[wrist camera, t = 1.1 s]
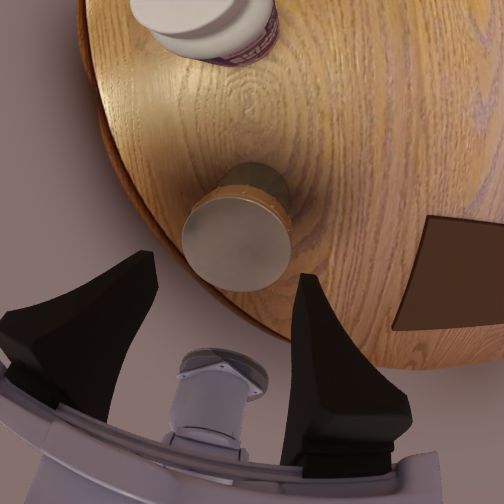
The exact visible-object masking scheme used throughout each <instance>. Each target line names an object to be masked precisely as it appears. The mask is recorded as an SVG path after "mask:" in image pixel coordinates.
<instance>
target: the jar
mask: <svg viewBox="0 0 504 504" xmlns="http://www.w3.org/2000/svg"><path fill="white" fill-rule="evenodd" d="M247 184H248V185H249V186H251V187H255V188H257V189H260V190H262V191H264V192H266V193H268V194H269V195H271V196H272V197H275V198H276V200H277V201H278V202H279V203H280V204H281V206H282V207H283V208H284V210H285V211H286V213H287V215H288V212H289V190H288V187H287V184H286V182H285V181H284V179H283V178H282V176H281V175H280V174H279V173H278V172H277V171H275V170H274V169H272V168H271V167H269V166H266V165H264V164H260V163H244V164H240V165H238V166H235V167H234V168H232V169H231V170H229V171H228V172H227V173H226V174H225V175H224V177H223V178H222V179H221V181H220V182H219V184H218V185H217V186H216V188H215V189H217V188H218V187H219V186H220V187H223V186H228V185H247ZM215 189H214V190H215Z"/></svg>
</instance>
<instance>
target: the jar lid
mask: <svg viewBox="0 0 504 504" xmlns="http://www.w3.org/2000/svg"><path fill="white" fill-rule="evenodd" d="M191 211H192V212H191V214H190V215H189V217H188V218H187V220H186V222H185V224H184V227H183V231H182V247H183V252H184V254H185V257H186V259H187V261H188V263H189V264H190V266H191V267H192V268H193V270H194V271H195V272H196V273H197V274H198V275H199V276H200V277H201V278H203V279H204V280H205V281H207V282H209V283H210V284H212V285H214V286H216V287H219V288H221V289H225V290H228V291H234V292H250V291H256V290H260V289H262V288H265V287H267V286H269V285H271V284H272V283H274V282H275V281H277V280H278V279H279V278H280V277H281V276H282V274H283V273H284V272H285V270H286V268H287V266H288V264H289V261H290V257H291V256H292V244H291V243H292V228H291V219H289V217H288V215H287V213H286V211H285V210H284V208H283V207H282V206H281V204H280V203H279V202H278V201H277V200H276V198H275V197H272V196H271V195H269V194H268V193H266V192H264V191H262V190H260V189H257V188H255V187H251V186H249V185H248V184H247V185H228V186H223V187H220V186H219V187H218V188H217V189H215V190H213V191H211V192H210V193H208V194H207V195H206V196H204V197H203V198H202V199H201V201H198V202H197V203H196V204H195V206H194V207H193V208H192V210H191Z"/></svg>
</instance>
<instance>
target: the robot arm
mask: <svg viewBox="0 0 504 504" xmlns="http://www.w3.org/2000/svg"><path fill="white" fill-rule="evenodd" d="M158 288H159V287H158V281H157V275H156V269H155V262H154V255H153V252H150V251H144V250H140V251H138V252H136V253H135V254H133V255H132V256H130V257H128V258H127V259H125V260H123V261H122V262H120V263H119V264H117V265H116V266H114V267H113V268H111V269H110V270H108V271H106V272H105V273H103V274H101V275H99V276H98V277H96V278H94V279H93V280H91V281H89V282H88V283H86V284H84V285H82V286H80V287H78V288H76V289H74V290H73V291H70V292H68V293H66V294H63V295H61V296H58V297H56V298H54V299H51V300H49V301H46V302H43V303H40V304H37V305H33V306H30V307H26V308H22V309H17V310H13V311H7V312H6V314H5V315H4V316H3V317H2V319H1V320H0V348H1V349H2V350H3V352H4V353H5V354H6V356H7V357H8V359H9V360H10V361H11V362H12V363H11V364H10V366H9V367H8V369H7V368H6V367H5V365H4V364H3V363H2V362H1V361H0V423H1V424H2V425H4V426H5V427H6V428H7V429H9V430H10V431H11V432H13V433H14V434H15V435H16V436H18V437H19V438H20V439H22V440H23V441H24V442H26V443H27V444H29V445H30V446H32V447H33V448H34V449H36V450H37V451H39V452H41V453H42V454H43V457H42V459H41V462H40V464H39V466H38V469H37V471H36V474H35V476H34V479H33V481H32V484H31V486H30V489H29V492H28V494H27V497H26V500H25V502H24V504H442V487H441V476H440V466H439V458H438V452H436V451H434V452H428V453H422V454H416V455H411V456H408V457H406V458H403V459H402V460H400V461H399V462H398V463H394V464H391V452H393V451H394V440H396V439H397V438H398V437H400V436H401V435H402V434H403V433H404V432H406V431H407V430H408V429H409V428H410V426H411V425H412V422H413V421H412V414H411V409H410V405H409V401H408V398H407V395H405V394H404V393H403V392H402V391H401V390H399V389H398V388H397V387H396V386H394V385H393V384H392V383H391V382H389V381H388V380H387V379H386V378H385V377H384V376H383V375H382V374H381V373H380V372H379V371H378V370H377V369H376V368H375V367H374V366H373V365H372V364H371V363H370V362H369V361H368V360H367V358H366V357H365V356H364V355H363V354H362V353H361V352H360V350H359V349H358V348H357V347H356V345H355V344H354V343H353V341H352V340H351V339H350V337H349V336H348V334H347V333H346V331H345V330H344V328H343V327H342V325H341V323H340V322H339V320H338V318H337V317H336V315H335V313H334V311H333V310H332V308H331V306H330V304H329V302H328V300H327V298H326V296H325V294H324V292H323V290H322V287H321V285H320V283H319V280H318V278H317V276H316V275H313V274H305V273H301V275H300V279H299V284H298V288H297V293H296V297H295V302H294V306H293V313H292V324H291V359H292V360H291V362H292V377H291V378H292V379H291V391H290V400H289V408H288V416H287V423H286V430H285V437H284V443H283V449H282V455H281V461H280V465H271V464H262V463H254V462H248V460H249V454H248V452H247V451H246V449H245V448H240V444H241V441H239V439H240V434H241V429H242V423H243V418H244V413H245V407H246V402H247V396H251V395H256V394H260V393H262V389H261V388H260V387H258V386H257V385H256V384H255V383H253V382H252V381H251V380H250V379H248V378H247V377H246V376H245V375H243V374H242V373H241V372H240V371H239V370H237V369H236V368H235V367H234V366H233V365H231V364H230V363H229V362H227V361H222V362H219V363H215V364H212V365H208V366H204V367H201V368H197V369H193V370H189V371H186V372H182V373H178V374H177V375H176V377H177V378H178V379H179V380H180V382H179V385H178V388H177V391H176V393H175V396H174V399H173V402H172V405H171V408H170V411H169V417H168V420H169V425H170V428H171V430H172V431H171V432H169V433H168V434H166V435H165V436H164V438H163V439H162V442H161V443H160V442H156V441H153V440H150V439H147V438H144V437H141V436H138V435H135V434H132V433H130V432H127V431H124V430H121V429H118V428H116V427H114V426H111V425H109V424H107V419H108V414H109V409H110V404H111V400H112V396H113V393H114V389H115V385H116V382H117V379H118V375H119V373H120V370H121V367H122V364H123V361H124V359H125V356H126V353H127V351H128V349H129V347H130V345H131V342H132V341H133V339H134V337H135V335H136V333H137V331H138V330H139V328H140V326H141V324H142V322H143V321H144V319H145V317H146V315H147V313H148V311H149V310H150V308H151V306H152V303H153V301H154V299H155V296H156V293H157V291H158ZM150 460H151V461H150ZM152 461H155V462H156V463H154V462H152Z"/></svg>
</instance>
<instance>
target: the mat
mask: <svg viewBox="0 0 504 504" xmlns="http://www.w3.org/2000/svg"><path fill="white" fill-rule="evenodd" d="M502 323H504V225H503V224H495V223H488V222H480V221H473V220H464V219H456V218H447V217H437V216H427V219H426V223H425V227H424V231H423V235H422V238H421V242H420V246H419V249H418V253H417V256H416V260H415V263H414V266H413V269H412V273H411V276H410V279H409V282H408V285H407V288H406V291H405V294H404V296H403V299H402V302H401V305H400V307H399V310H398V313H397V315H396V318H395V320H394V323H393V325H392V331H410V330H433V329H449V328H463V327H474V326H484V325H494V324H502Z"/></svg>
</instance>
